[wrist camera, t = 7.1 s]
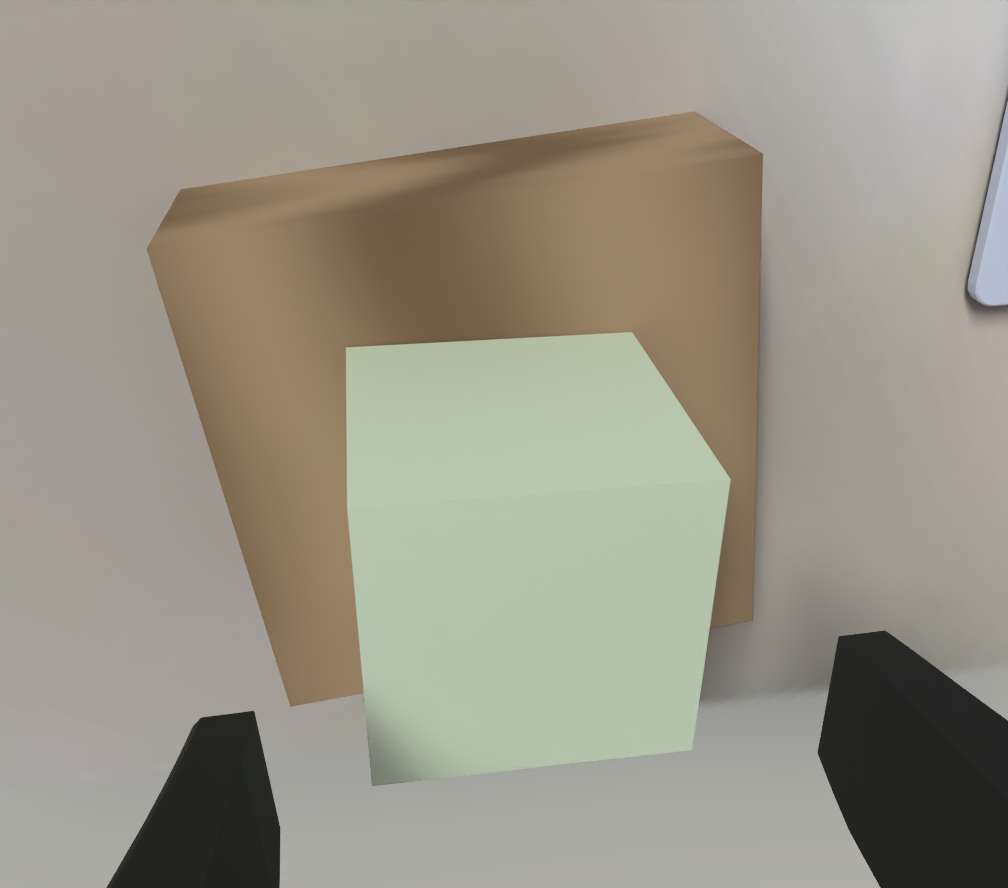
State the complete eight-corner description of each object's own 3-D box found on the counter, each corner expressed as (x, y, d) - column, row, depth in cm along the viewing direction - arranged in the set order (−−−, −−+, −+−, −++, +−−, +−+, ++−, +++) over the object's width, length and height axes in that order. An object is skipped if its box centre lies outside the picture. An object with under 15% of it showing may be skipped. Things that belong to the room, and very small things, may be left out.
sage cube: (632, 331, 17) (730, 479, 13) (614, 561, 19) (692, 750, 15) (346, 347, 16) (347, 508, 12) (365, 582, 19) (371, 786, 14)
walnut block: (688, 107, 19) (762, 154, 16) (695, 517, 24) (752, 620, 21) (184, 183, 19) (147, 248, 15) (299, 588, 24) (290, 706, 20)
